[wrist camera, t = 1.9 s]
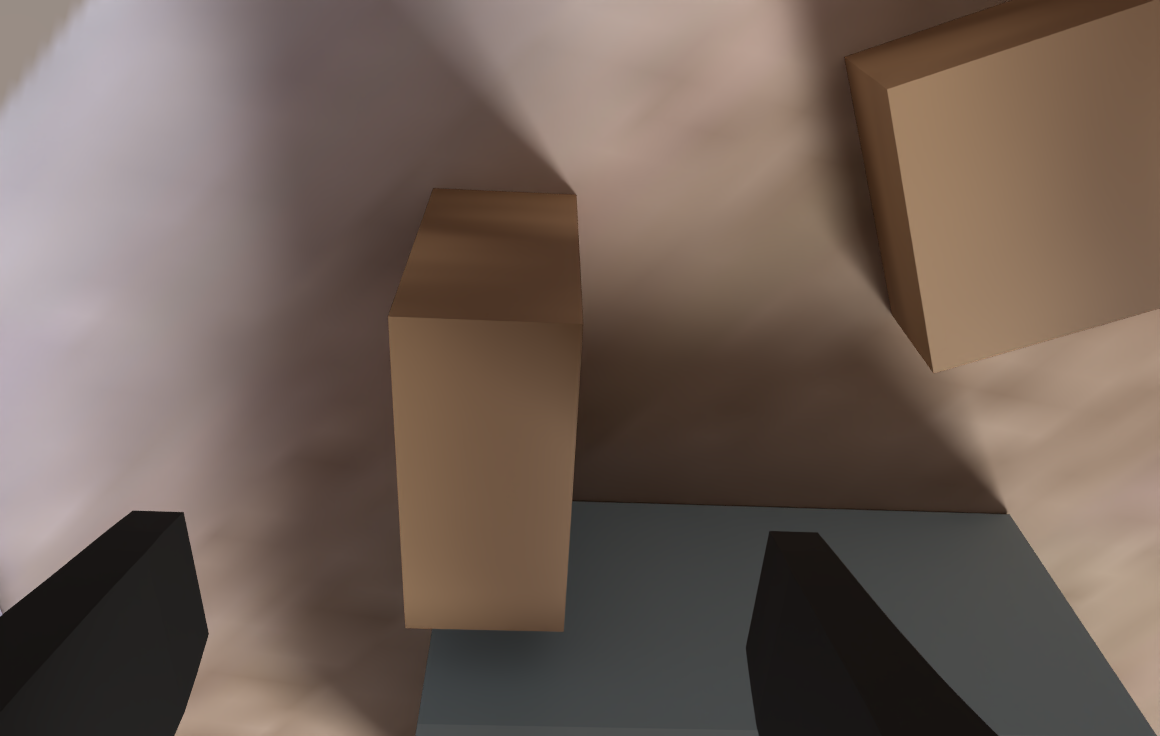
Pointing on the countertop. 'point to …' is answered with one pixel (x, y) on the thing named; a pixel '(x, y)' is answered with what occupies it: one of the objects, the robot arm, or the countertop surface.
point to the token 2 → (1015, 173)
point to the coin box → (723, 616)
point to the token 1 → (487, 409)
